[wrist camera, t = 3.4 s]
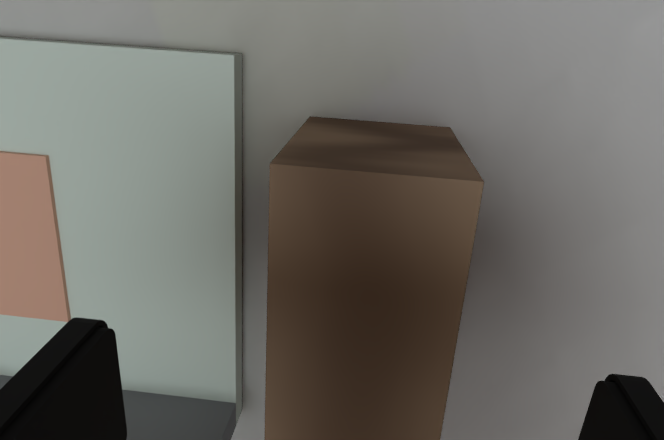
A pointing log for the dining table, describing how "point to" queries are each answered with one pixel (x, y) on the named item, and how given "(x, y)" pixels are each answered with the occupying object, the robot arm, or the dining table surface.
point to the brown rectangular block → (366, 279)
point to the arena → (127, 220)
